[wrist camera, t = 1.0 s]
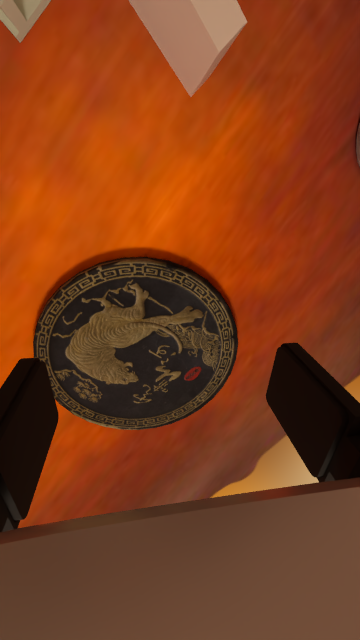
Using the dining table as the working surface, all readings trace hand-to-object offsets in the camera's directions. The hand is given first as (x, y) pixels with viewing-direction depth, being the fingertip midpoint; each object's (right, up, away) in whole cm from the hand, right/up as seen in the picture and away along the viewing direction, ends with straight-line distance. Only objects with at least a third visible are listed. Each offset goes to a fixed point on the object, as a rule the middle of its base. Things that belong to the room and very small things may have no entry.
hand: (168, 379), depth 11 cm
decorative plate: (-5, -3, +29) cm, 30 cm away
